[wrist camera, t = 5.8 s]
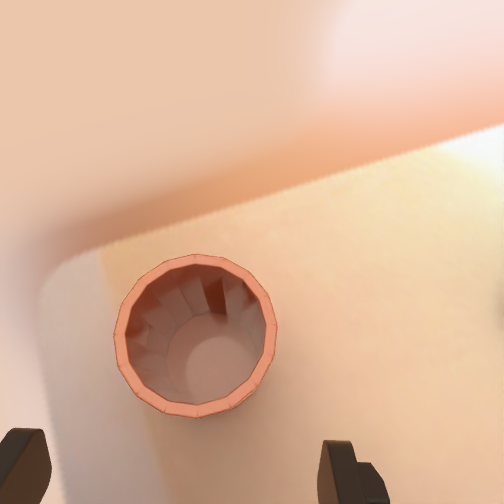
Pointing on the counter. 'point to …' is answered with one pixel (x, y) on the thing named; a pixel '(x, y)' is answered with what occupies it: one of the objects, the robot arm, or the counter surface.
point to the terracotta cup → (195, 336)
